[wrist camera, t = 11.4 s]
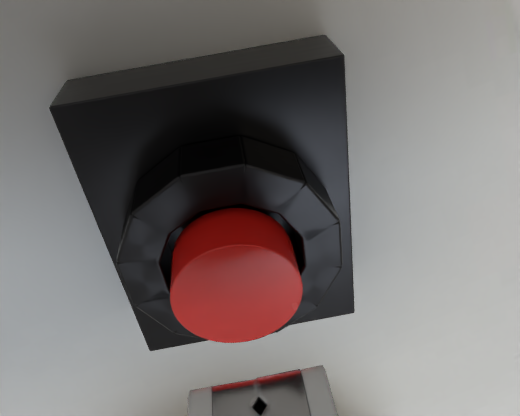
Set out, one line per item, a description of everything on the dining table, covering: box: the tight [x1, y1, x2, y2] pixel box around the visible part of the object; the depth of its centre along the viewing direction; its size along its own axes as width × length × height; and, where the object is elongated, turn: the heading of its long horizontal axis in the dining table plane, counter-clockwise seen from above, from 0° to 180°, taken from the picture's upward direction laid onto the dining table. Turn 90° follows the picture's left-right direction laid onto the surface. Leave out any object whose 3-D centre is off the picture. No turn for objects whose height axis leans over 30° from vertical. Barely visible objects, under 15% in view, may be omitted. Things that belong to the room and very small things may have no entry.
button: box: [170, 208, 303, 343], centre depth 14 cm, size 4×4×2 cm
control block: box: [49, 35, 354, 351], centre depth 16 cm, size 10×8×4 cm
